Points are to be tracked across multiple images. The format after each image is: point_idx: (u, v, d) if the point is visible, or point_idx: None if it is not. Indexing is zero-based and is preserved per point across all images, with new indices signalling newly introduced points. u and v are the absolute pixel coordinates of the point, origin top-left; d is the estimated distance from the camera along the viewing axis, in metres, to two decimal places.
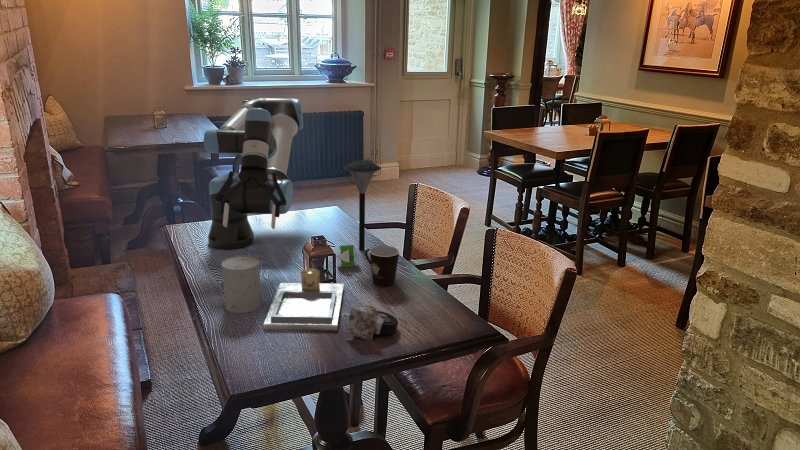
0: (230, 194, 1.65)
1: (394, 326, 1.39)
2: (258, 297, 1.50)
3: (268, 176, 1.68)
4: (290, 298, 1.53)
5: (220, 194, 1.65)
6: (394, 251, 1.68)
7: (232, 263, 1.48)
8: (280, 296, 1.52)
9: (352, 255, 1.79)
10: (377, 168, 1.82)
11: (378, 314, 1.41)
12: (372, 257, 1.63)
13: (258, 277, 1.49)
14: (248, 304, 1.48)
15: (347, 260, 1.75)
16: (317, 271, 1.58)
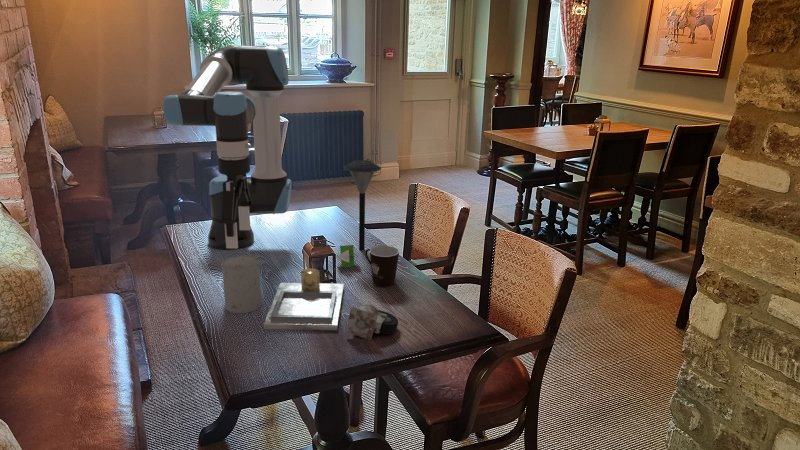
0: (235, 211, 1.38)
1: (394, 326, 1.39)
2: (258, 297, 1.50)
3: None
4: (290, 298, 1.53)
5: (232, 215, 1.35)
6: (394, 251, 1.68)
7: (232, 263, 1.48)
8: (280, 296, 1.52)
9: (352, 255, 1.79)
10: (377, 168, 1.82)
11: (378, 313, 1.42)
12: (372, 257, 1.63)
13: (258, 277, 1.49)
14: (248, 304, 1.48)
15: (347, 260, 1.75)
16: (317, 271, 1.58)
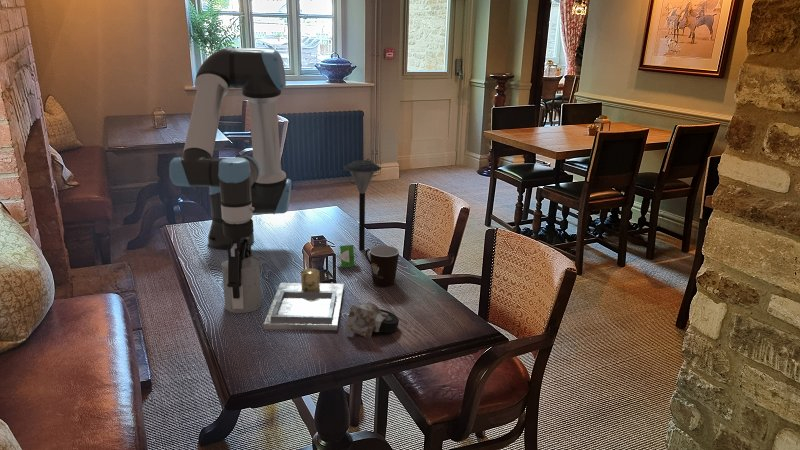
0: None
1: (394, 325, 1.39)
2: (258, 297, 1.50)
3: None
4: (290, 298, 1.53)
5: (238, 278, 1.42)
6: (394, 251, 1.68)
7: None
8: (280, 296, 1.52)
9: (352, 255, 1.79)
10: (377, 168, 1.82)
11: (379, 312, 1.42)
12: (372, 257, 1.63)
13: (258, 277, 1.49)
14: (248, 304, 1.48)
15: (347, 260, 1.75)
16: (317, 271, 1.58)
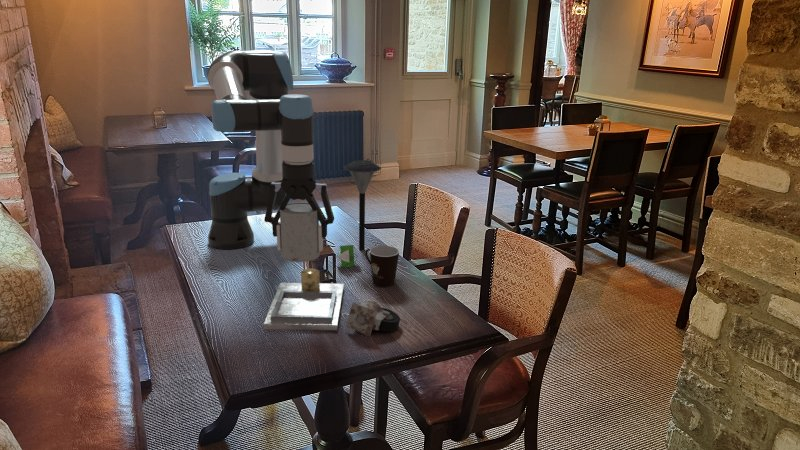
0: None
1: (394, 324, 1.40)
2: None
3: None
4: (290, 298, 1.53)
5: None
6: (394, 251, 1.68)
7: (299, 211, 1.38)
8: (280, 296, 1.52)
9: (352, 255, 1.79)
10: (377, 168, 1.82)
11: (381, 311, 1.43)
12: (372, 257, 1.63)
13: None
14: None
15: (347, 260, 1.75)
16: (317, 271, 1.58)
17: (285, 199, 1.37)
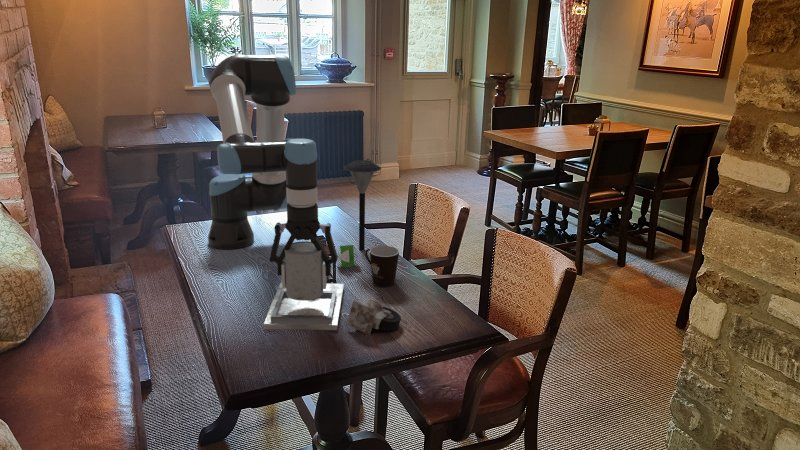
0: None
1: (394, 323, 1.40)
2: None
3: None
4: (290, 298, 1.53)
5: None
6: (394, 251, 1.68)
7: (303, 251, 1.41)
8: (280, 296, 1.52)
9: (352, 255, 1.79)
10: (377, 168, 1.82)
11: (382, 310, 1.44)
12: (372, 257, 1.63)
13: None
14: None
15: (347, 260, 1.75)
16: None
17: (290, 240, 1.41)
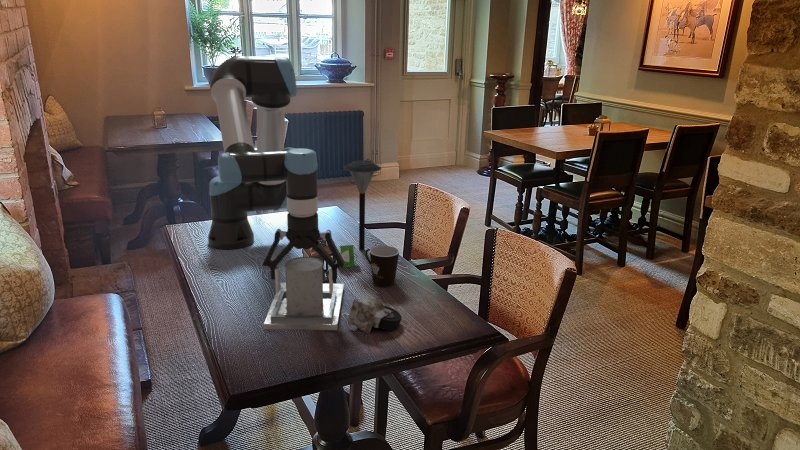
0: None
1: (394, 322, 1.40)
2: None
3: None
4: None
5: None
6: (394, 251, 1.68)
7: (303, 267, 1.43)
8: (280, 296, 1.52)
9: (352, 255, 1.79)
10: (377, 168, 1.82)
11: (383, 309, 1.44)
12: (372, 257, 1.63)
13: None
14: None
15: (347, 260, 1.75)
16: None
17: (288, 247, 1.41)
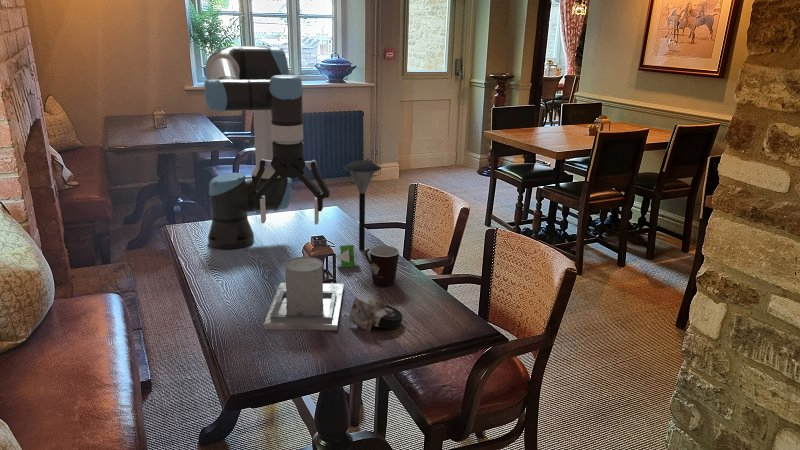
0: None
1: (394, 322, 1.41)
2: None
3: None
4: None
5: None
6: (394, 251, 1.68)
7: (303, 267, 1.43)
8: (280, 296, 1.52)
9: (352, 255, 1.79)
10: (377, 168, 1.82)
11: (384, 308, 1.45)
12: (372, 257, 1.63)
13: None
14: None
15: (347, 260, 1.75)
16: None
17: (273, 176, 1.41)
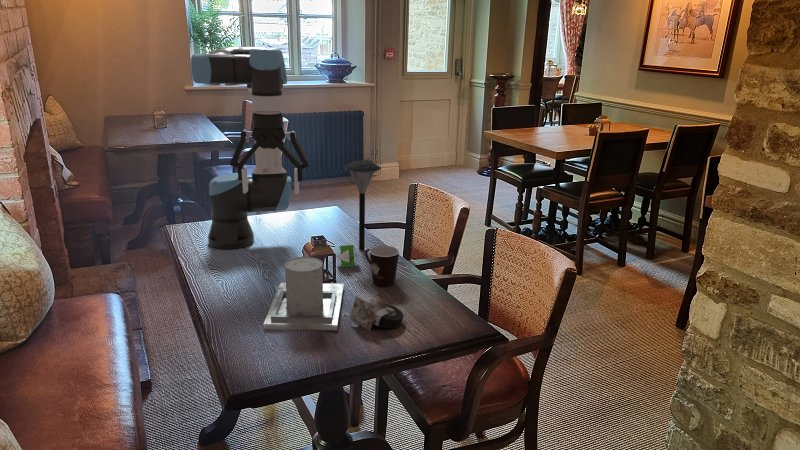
0: None
1: (395, 321, 1.41)
2: None
3: None
4: None
5: None
6: (394, 251, 1.68)
7: (303, 267, 1.43)
8: (280, 296, 1.52)
9: (352, 255, 1.79)
10: (377, 168, 1.82)
11: (385, 307, 1.45)
12: (372, 257, 1.63)
13: None
14: None
15: (347, 260, 1.75)
16: None
17: (254, 146, 1.46)
